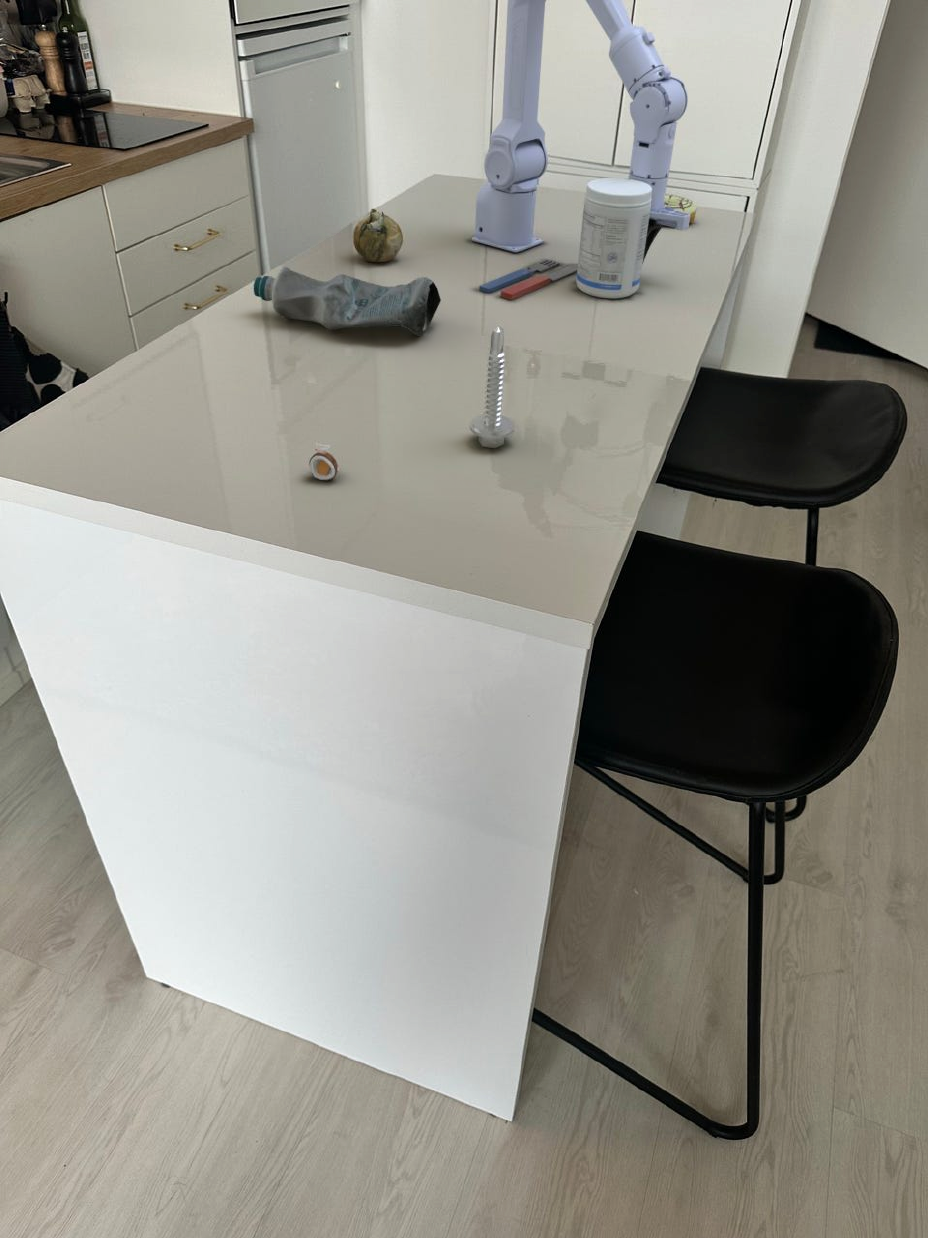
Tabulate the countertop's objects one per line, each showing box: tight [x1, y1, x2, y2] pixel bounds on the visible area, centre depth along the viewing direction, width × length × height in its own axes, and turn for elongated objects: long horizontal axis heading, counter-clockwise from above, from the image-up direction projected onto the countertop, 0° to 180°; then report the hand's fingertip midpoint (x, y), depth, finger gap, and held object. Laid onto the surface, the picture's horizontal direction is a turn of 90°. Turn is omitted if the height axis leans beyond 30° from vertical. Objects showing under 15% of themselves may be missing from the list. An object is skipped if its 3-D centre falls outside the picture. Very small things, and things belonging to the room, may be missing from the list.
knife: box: [500, 263, 578, 301], centre depth 141 cm, size 20×2×1 cm, turn 142°
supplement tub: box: [575, 177, 652, 299], centre depth 135 cm, size 10×10×15 cm
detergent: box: [253, 266, 442, 337], centre depth 123 cm, size 13×7×25 cm
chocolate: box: [308, 440, 339, 481], centre depth 92 cm, size 3×2×4 cm
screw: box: [469, 325, 516, 449], centre depth 96 cm, size 13×5×5 cm
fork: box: [478, 258, 560, 294], centre depth 142 cm, size 18×2×1 cm, turn 142°
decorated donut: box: [664, 193, 698, 224], centre depth 169 cm, size 10×11×4 cm
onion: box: [352, 208, 404, 263], centre depth 144 cm, size 8×8×8 cm
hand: (634, 268), depth 143 cm, fingers closed
